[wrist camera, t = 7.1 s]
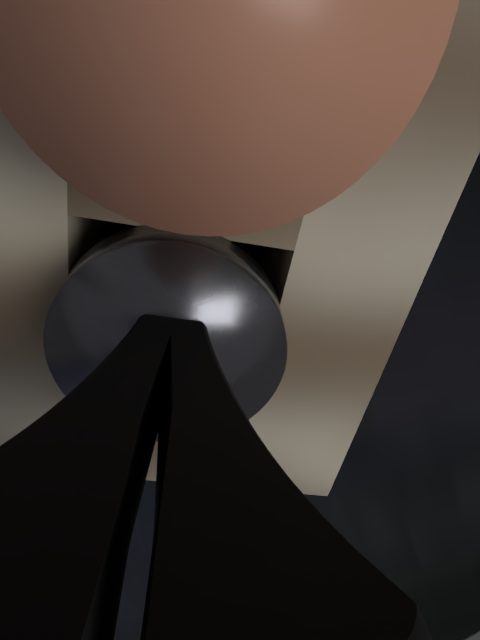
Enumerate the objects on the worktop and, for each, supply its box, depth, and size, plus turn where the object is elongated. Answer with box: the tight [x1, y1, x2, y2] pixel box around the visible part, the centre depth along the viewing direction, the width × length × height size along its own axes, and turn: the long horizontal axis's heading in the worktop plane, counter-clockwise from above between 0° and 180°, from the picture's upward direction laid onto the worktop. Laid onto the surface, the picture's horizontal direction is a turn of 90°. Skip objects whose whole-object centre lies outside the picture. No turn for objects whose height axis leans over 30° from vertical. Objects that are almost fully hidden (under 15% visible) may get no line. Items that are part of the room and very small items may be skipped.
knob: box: [43, 224, 287, 442], centre depth 12 cm, size 5×5×4 cm
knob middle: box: [0, 0, 459, 237], centre depth 7 cm, size 5×5×4 cm
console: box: [0, 0, 480, 496], centre depth 9 cm, size 24×11×4 cm, turn 170°
